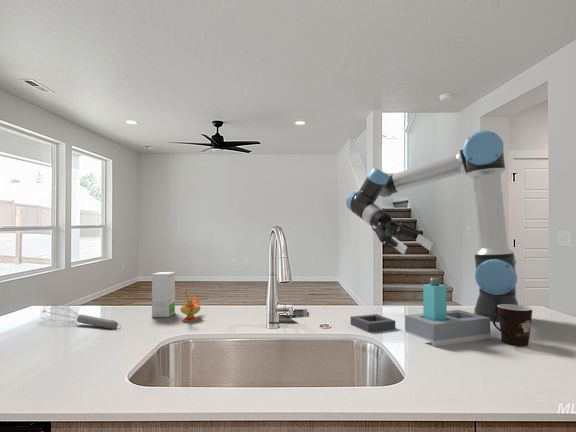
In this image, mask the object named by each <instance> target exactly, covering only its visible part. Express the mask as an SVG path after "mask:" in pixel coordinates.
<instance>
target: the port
mask: <svg viewBox="0 0 576 432" xmlns="http://www.w3.org/2000/svg"><path fill="white" fill-rule="evenodd" d="M404 328H405V329H404V332H405V334H410V335H411V336H414V337H416V338H419V339H422V340H424V341H427V342H425V344H426V345H429V346H431V347H433V348H434V347H440V346H449V345H453V344H454V345H456V344H462V343H469V342H470V343H471V342H476V341H484V340H489V339H491V320H490V318H488V317H484V316H481V315H477V314H474V312H473V313H472V312H468V311H466V310H465V311H464V310H461V309H454V310H453V309H452V310H447V320H442V321H431V320H428V319H425V318H424V317H423V313H414V314H405V315H404Z"/></svg>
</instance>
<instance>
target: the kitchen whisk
mask: <svg viewBox="0 0 576 432" xmlns="http://www.w3.org/2000/svg"><path fill="white" fill-rule="evenodd" d="M57 305H60V306H61V307H59V306H55V305H54V308H57V309H61V310H63V311H66V312H68V313H71V314H73V315H75V316H71V315H65V314H61V313H56V312H52V311H51V312H50V311H48V310H52V307H53V303H51V304H47V305H44V306H43V308H42V309H43V310H39V311H40V312H41V313H40V314H39V317H40V318H41V319H43V320H45V318H44V317H43V316H41V315H44V314H45V316H46V317H47V318H46V320H49V321H52V320H51V319H52V318H50V317H49V316H48V315H47V314H46V313H49V314H52V315H58V316H62V317H68V318H74V319H76V320H72V321H69V322H70V323H78V324H85V325H89V326H94V327H98V326H99V328H103V327H104V329H108V328H109V330H116V329H117V327H118V329H119V330H120V329H121V328H122V325H121V324H120V323H118V321H115V320H114V319H113V320H112V319H108V318H102V317H97V316H93V315H92V316H91V315H86V314H79V313H78V312H76V311H74V310H73V309H71V308H70V307H68V306H66V305H63V304H60V303H57ZM49 306H51V307H50V308H48V307H49ZM62 306H63V307H64V308H63V307H62ZM49 318H50V319H49ZM70 323H69V324H70ZM119 326H120V328H119ZM115 328H116V329H115Z"/></svg>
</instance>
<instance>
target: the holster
mask: <svg viewBox="0 0 576 432" xmlns="http://www.w3.org/2000/svg"><path fill="white" fill-rule="evenodd" d="M350 325H351V326H352V327H353V326H354V327H355V328H358V329H360V330H362V331H364V332H366V333H372V332H373V333H374V332H375V333H376V332H381V331H390V330H391V331H392V330H396V320H394V319H391V318H389V317H386V316H383V315H380V314H378V313H374V314H365V315H364V314H362V315H354V316H350Z"/></svg>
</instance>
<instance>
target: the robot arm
mask: <svg viewBox="0 0 576 432" xmlns="http://www.w3.org/2000/svg"><path fill="white" fill-rule="evenodd" d="M504 148H505V147H504V141H503V139H502V138H501V136H500V135H498V134H497V133H495V132H494V131H491V130H479V131H476V132H474V133H472V134H470V135H469V136H468V138H467V139H466V140H465V141H464V144H463V148H462V149H461V150H458V152H457V153H455V154H453V155H450V156H447V157H444V158H443V157H442V158H440V159H437V160H435V161H431V162H428V163H425V164H422V165H419V166H416V167H412V168H409V169H406V170H402V171H400V172H397V173H393V174H391V175H389V174H388V173H386V172H384V171H382V170H381V169H378V168H376V167H373V168H372V169H371V171H370V172H369V173H367V176H366V177H365V180H364V181H363V183H362V185H361V186H360V188H359V190H358V191H353V192H351V193H350V194H349V195H348V196H347V198H346V201H345V205H346V207H347V208H348V210H350V211H351V212H352V213H353V214H354V215H356V216H357V217H359V219H362V220H363V221H364V222H365V223H367V225H369V226H371V229H372V231H373V232H375V235H376V236H377V238H378V240H379V242H380V243H384V245H386V246H388V245H390V246H391V247H393V248H394V249H396V250H397V251H398V252H399V253H400V254H401V255H405V254H406V252H407V249H408V246H407V245H405V244H404V243H402V242H401V241H400V240H399V239H397V238H396V237H395V236H392V234H396V235H402V236H405V237H408V238H411V239H414V240H415V242H417V243H418V244H419V245H421V246H422V247H423V248H425V249H426V250H428V251H432V249H433V246H434V245H435V243H434V242H432V241H430V240H429V239H427V238H426V237H425V236H423V233H424V232H423V231H421V230H418V229H416V228H415V227H413V226H410V225H408V224H405V223H403V222H402V221H400V220H398V221H397V222H396V221H393V220H392V216H391V214H390V213H388V212H386V211H385V209H384V210H383V208H381V207H380V206H378V205H377V204H375V202H376V201H377V199H378V198H379V196H380V197H383V198H386V197H390V196H392V195H393V194H396V193H399V192H403V191H406V190H409V189H413V188H416V187H420V186H423V185H426V184H429V183H434V182H437V181H441V180H444V179H447V178H448V179H449V178H450V177H453V176H457V175H461V174H464V175H466V176H468V177H470V178H471V179H472V190H473V199H474V201H473V202H474V210H475V211H474V212H475V219H476V221H475V222H476V223H475V224H476V231H477V243H478V248H477V250H476V251H475V252H474V263H475V273H474V277H475V282H476V284H477V285H478V287H479V288H478V289H479V290H478V291H479V295H478V298H477V301H476V304H475V307H474V309H473V310H474V311H473V314H477V315H481V316H484V317H488V318H490V321H493V316H494V315H495V314H497V313H498V308H497V305H501V304H512V305H519V302H518V300H517V295H516V292H517V287H516V285H517V282H518V275H517V272H516V263H517V261H516V257H515V256H516V255H515V254H514V250H512V249H510V248H509V246H508V237H507V227H506V216H505V208H504V207H505V205H504V198H503V188H502V187H503V186H502V178H501V177H502V176H501V175H502V174H503V173H504V172H505V170H506V163H505V162H506V161H505V154H504V153H505V152H504ZM495 322H499V315H498V316H497V317H496V318H495Z"/></svg>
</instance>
